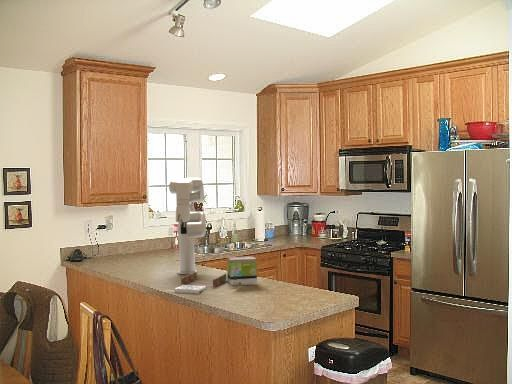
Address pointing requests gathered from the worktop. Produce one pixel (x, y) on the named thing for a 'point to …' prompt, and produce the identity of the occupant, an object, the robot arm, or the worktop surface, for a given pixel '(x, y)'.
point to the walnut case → (193, 280)
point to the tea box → (242, 270)
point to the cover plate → (190, 289)
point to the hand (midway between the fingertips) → (183, 233)
